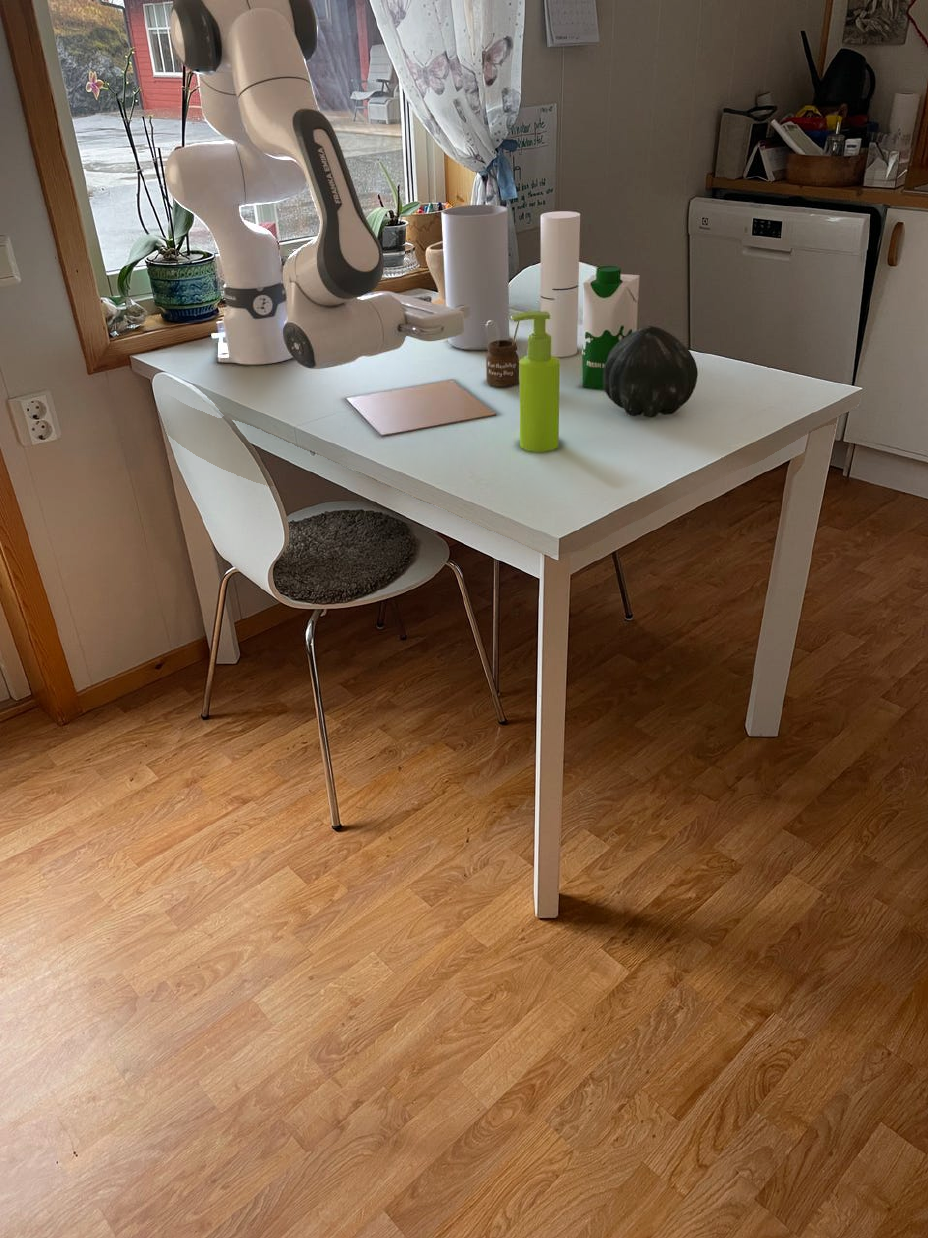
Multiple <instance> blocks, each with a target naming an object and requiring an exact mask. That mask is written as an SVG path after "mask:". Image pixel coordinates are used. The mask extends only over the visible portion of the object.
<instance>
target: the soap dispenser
mask: <svg viewBox="0 0 928 1238" xmlns="http://www.w3.org/2000/svg"><path fill="white" fill-rule="evenodd" d="M510 318H511V319H512V321H513V322H515V323H518V321H519V322H521V321H527V320H533V332H532V333H531V334H529V335H527V356H523V357H522V358H519V439H520V440H519V445H520V448H521V449H522V450H525V451H527V452H532V453H533V452H534V453H544V452H550V451H553V450H556V449H557V448H558V447H559V446H560V445H559V444H560V443H559V442H560V441H559V439H560V438H559V437H560V436H559V435H560V434H559V433H560V432H559V431H560V368H561V367H560V364H561V361H560V359H559V357H554V356H551V336H550V335H549V334H547V333H545V319H550V314H549V313H548V312H543V311H539V310H538V311H537V310H535V311H534V310H533V311H523V312H520V313H516V314H514V315H511V316H510Z"/></svg>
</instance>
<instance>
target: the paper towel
mask: <svg viewBox="0 0 928 1238" xmlns="http://www.w3.org/2000/svg"><path fill="white" fill-rule="evenodd" d="M345 399H346V401H347V402H348V403H349V404H350V405H351V406H352V407H353V408H354V409H355V410H356V411H357V412H358V413H359V415H361V416H362V417H363V419H365V420H366V421H367V422H368V424H370V426H371V427H372V428H373V429H374V430H375V431H376V432H377V433H378V434H379V435H380V436H381V437H386V436H392V435H396V434H402V433H406V432H412V431H419V430H423V429H428V428H435V427H439V426H445V425H450V424H456V423H460V422H465V421H471V420H477V419H481V418H486V417H492V416H496V415H497V413H496V412H495V411H493V410H492V409H491V408H489V407H488V406H486V405H485V404H484V403H483V402H481V401H480V400H479V399H477V398H476V397H475V396H473V395H472V394H470V393H469V392H468V391H467V390H465V389H464V388H463V387H462V386H460V385H459V384H458V383H456V382H455V381H453V379H449V380H443V381H437V382H432V383H431V382H430V383H425V384H420V385H414V386H409V387H403V388H397V389H391V390H386V391H380V392H373V393H367V394H362V395H356V396H351V397H346V398H345Z"/></svg>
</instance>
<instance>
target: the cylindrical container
mask: <svg viewBox="0 0 928 1238" xmlns="http://www.w3.org/2000/svg"><path fill="white" fill-rule="evenodd" d="M580 231H581V213H579V212H577V211H571V210H570V211H569V210H566V211H565V210H561V211H560V210H558V211H549V212H543V213H541V214H540V308H539V309H540V311H543V312H548V313H549V314H550V319H545V333H547V334H549V335H550V336H551V356H554V357H557V358H566V357H567V358H568V357H571V356H574V355H576V354H577V353H578V328H579V326H578V325H579V323H578V322H579V287H580V286H579V284H580V283H579V281H580V280H579V278H580V239H581V238H580V237H581V232H580Z"/></svg>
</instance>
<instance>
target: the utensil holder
mask: <svg viewBox="0 0 928 1238" xmlns="http://www.w3.org/2000/svg"><path fill="white" fill-rule="evenodd" d="M490 321H493V320H490ZM494 322H495V321H494ZM495 323H496V322H495ZM516 323H517V324H516V326H515V327H516V328H515V331H514V335H513V338H512V339H513V340H510V339H509V340H496V341H492V342H490V340H489V342H490V343H489V344H488V349H487V352H488V353H487V355H486V359H485V371H486V373H485V375H486V382H487V384H488V385H490V386H492V387H496V388H508V387H512V386H515V385H517V384H518V383H519V382H520V373H519V361H520V356H519V354H518V352H517V351H518V345H517V342H516V337H517V333H518V330H519V326H520V325H519V324H520V321H518V322H516ZM487 324H488V323H487ZM491 324H492V323H491ZM493 324H494V323H493ZM496 324H497V323H496ZM485 325H486V324H485ZM496 326H498V325H496ZM486 327H488V326H487V325H486ZM492 328H493V327H492ZM490 329H491V327H490ZM495 329H496V328H495ZM486 330H487V328H486V329H485V331H486ZM498 330H499V329H498ZM498 330H497V331H498ZM488 332H489V331H488ZM493 332H494V331H493ZM491 333H492V332H491ZM496 333H497V332H496ZM487 335H488V334H487ZM489 336H490V335H489ZM499 337H500V335H499ZM492 338H493V337H492ZM494 338H495V337H494ZM490 339H491V338H490Z"/></svg>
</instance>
